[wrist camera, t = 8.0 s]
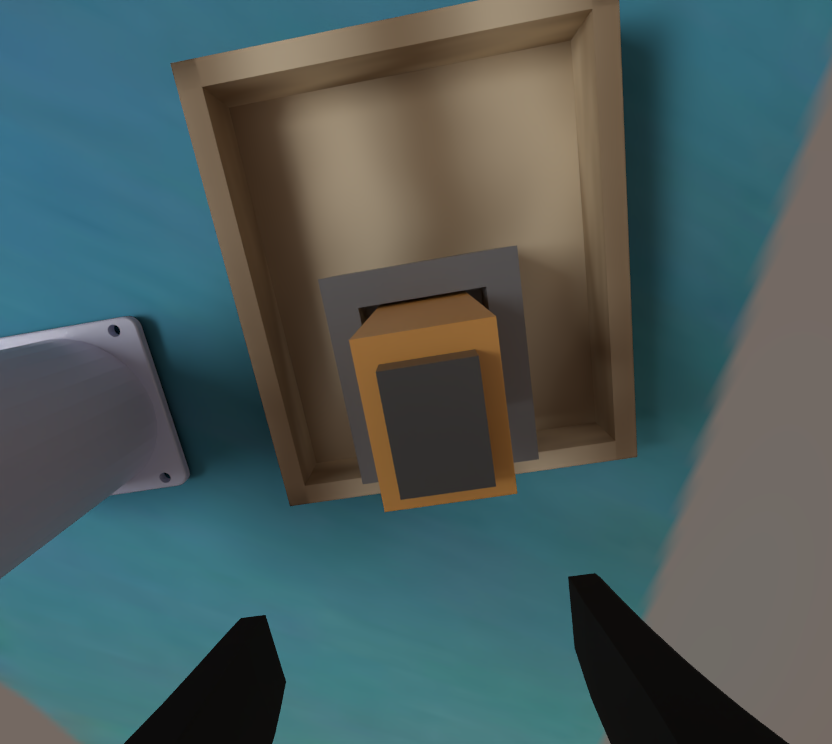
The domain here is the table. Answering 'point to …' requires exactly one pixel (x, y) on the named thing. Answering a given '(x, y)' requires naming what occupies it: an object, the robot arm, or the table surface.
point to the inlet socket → (472, 272)
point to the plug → (434, 401)
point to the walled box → (425, 205)
